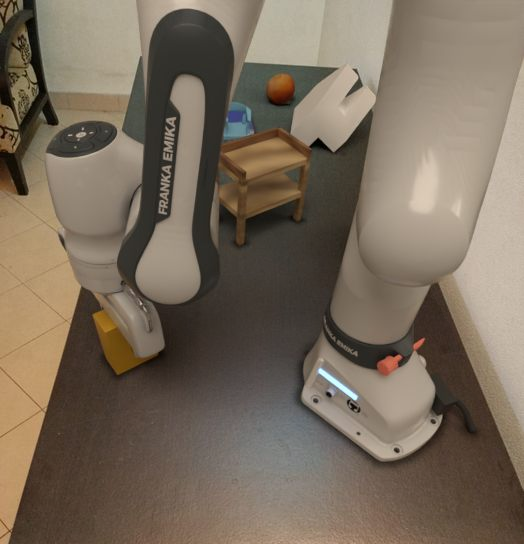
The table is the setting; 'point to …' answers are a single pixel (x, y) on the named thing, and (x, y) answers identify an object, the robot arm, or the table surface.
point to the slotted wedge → (332, 110)
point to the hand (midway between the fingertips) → (123, 331)
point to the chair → (238, 123)
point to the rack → (262, 174)
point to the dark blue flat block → (238, 119)
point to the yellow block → (115, 344)
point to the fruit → (280, 89)
